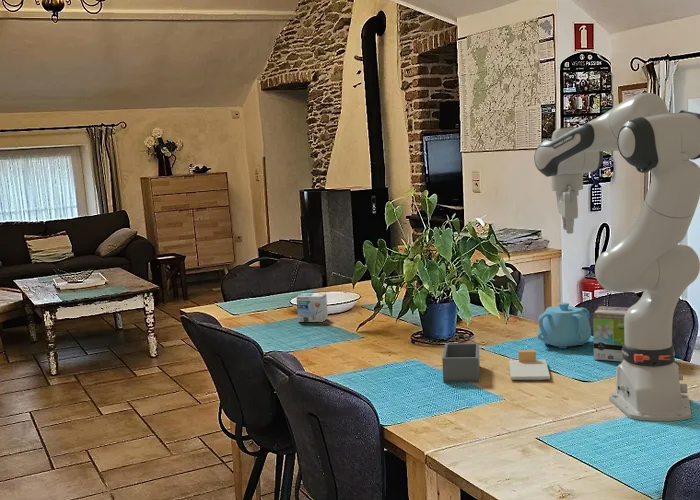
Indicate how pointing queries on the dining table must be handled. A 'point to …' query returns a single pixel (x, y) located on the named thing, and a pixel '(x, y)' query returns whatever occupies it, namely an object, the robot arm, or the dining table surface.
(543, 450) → the dining table surface
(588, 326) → the decorative pot
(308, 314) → the light bulb box
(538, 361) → the lid
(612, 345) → the tea box
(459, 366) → the tub
